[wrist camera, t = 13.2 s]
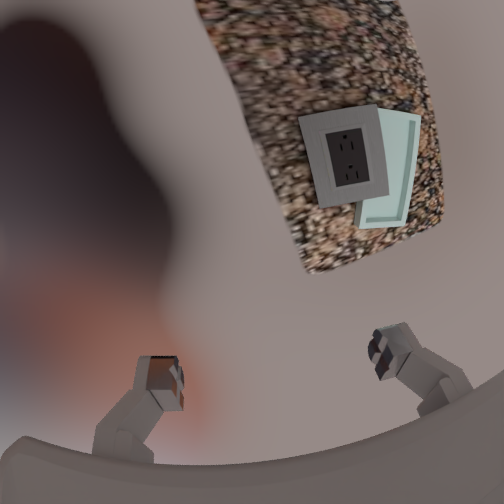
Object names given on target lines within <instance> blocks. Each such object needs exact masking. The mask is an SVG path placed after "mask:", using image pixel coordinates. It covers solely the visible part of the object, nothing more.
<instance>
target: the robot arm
mask: <svg viewBox="0 0 504 504" xmlns="http://www.w3.org/2000/svg"><path fill="white" fill-rule="evenodd" d="M380 1H395V0H380ZM373 337H374V338H373V339H372V340H371V341H370V342H369V345H368V354H369V358H370V360H371V362H373V363H374V364H376V366H375V371H376V373H377V375H378V378H379V380H380V381H382V380H386V379H389V378H393V377H396V378H397V379H398V380H400V381H401V382H402V383H404V384H405V385H406V386H407V387H408V388H410V389H411V390H412V391H413V392H415V393H416V394H417V395H418V396H420V397H421V398H422V399H423V401H422V402H421V403H420V404H419V406H418V407H417V411H418V413H419V416H420V418H419V419H416V420H414V421H412V422H409V423H407V424H405V425H402V426H400V427H397V428H395V429H392V430H390V431H387V432H384V433H381V434H378V435H375V436H373V437H370V438H367V439H363V440H360V441H357V442H354V443H350V444H347V445H343V446H340V447H336V448H332V449H328V450H324V451H319V452H315V453H310V454H306V455H300V456H295V457H289V458H283V459H277V460H269V461H262V462H252V463H241V464H228V465H227V464H226V465H169V464H154V453H153V452H152V450H150V449H149V448H148V447H147V446H146V445H144V444H143V442H144V441H145V439H146V438H147V437H148V435H149V434H150V432H151V431H152V429H153V428H154V426H155V424H156V423H157V422H158V420H159V419H160V417H161V416H162V414H163V413H164V412H163V411H183V406H184V397H183V394H182V392H181V391H182V390H183V389H184V374H183V371H182V367H181V366H179V365H178V363H179V360H178V358H177V356H140V357H139V359H138V362H137V367H136V373H135V378H134V384H133V390H129V391H128V392H127V393H126V394H125V395H124V396H123V397H122V398H121V400H120V401H119V402H118V403H117V404H116V405H115V406H114V407H113V408H112V409H111V410H110V411H109V413H108V414H107V415H106V416H105V417H104V418H103V419H102V420H101V421H100V423H98V425H97V426H96V430H95V436H94V443H93V449H92V454H88V453H83V452H79V451H75V450H71V449H68V448H64V447H60V446H57V445H54V444H50V443H47V442H44V441H41V440H38V439H35V438H33V437H29V436H22V437H21V438H19V439H18V440H17V441H15V442H14V443H13V444H12V445H11V446H10V447H9V448H8V449H6V451H5V452H4V453H3V455H2V457H1V459H0V504H504V370H503V371H501V372H500V373H498V374H497V375H496V376H494V377H493V378H491V379H490V380H488V381H487V382H485V383H483V384H482V385H480V386H479V387H477V388H476V389H473V387H472V386H471V384H470V382H469V381H468V379H467V377H466V375H465V373H464V372H463V370H462V369H461V368H459V367H458V366H456V365H454V364H452V363H451V362H449V361H447V360H446V359H444V358H442V357H441V356H439V355H437V354H435V353H434V352H432V351H430V350H428V349H427V348H422V346H421V345H420V343H419V342H418V340H417V338H416V337H415V335H414V334H413V332H412V330H411V329H410V327H409V326H408V324H407V323H405V322H403V323H399V324H396V325H390V326H387V327H383V328H379V329H376V330H375V331H374V332H373Z"/></svg>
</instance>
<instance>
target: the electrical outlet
mask: <svg viewBox="0 0 504 504" xmlns="http://www.w3.org/2000/svg"><path fill="white" fill-rule="evenodd" d="M298 120H299V124H300V127H301V131H302V135H303V139H304V143H305V147H306V151H307V155H308V159H309V163H310V167H311V171H312V176H313V180H314V184H315V189H316V194H317V198H318V203H319V208H320V209H321V208H326V207H331V206H336V205H341V204H346V203H351V202H356V201H361V200H366V199H372V198H377V197H382V196H388V195H389V183H388V174H387V165H386V157H385V150H384V143H383V136H382V130H381V124H380V119H379V114H378V109H377V104H370V105H363V106H356V107H349V108H343V109H337V110H331V111H325V112H320V113H315V114H310V115H305V116H300V117H298Z"/></svg>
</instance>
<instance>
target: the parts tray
mask: <svg viewBox="0 0 504 504" xmlns="http://www.w3.org/2000/svg"><path fill="white" fill-rule="evenodd" d="M377 109H378V114H379V119H380V124H381V130H382V136H383V143H384V150H385V157H386V165H387V174H388V183H389V195H388V196H382V197H377V198H372V199H366V200H361V201H357V203H356V211H355V218H354V224H355V225H356V226H357V227H358V228H359V229H367V228H382V227H397V226H405V222H406V218H407V213H408V208H409V203H410V198H411V193H412V187H413V181H414V175H415V168H416V161H417V153H418V145H419V135H420V124H421V116H420V115H416V114H412V113H406V112H401V111H396V110H390V109H383V108H377Z"/></svg>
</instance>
